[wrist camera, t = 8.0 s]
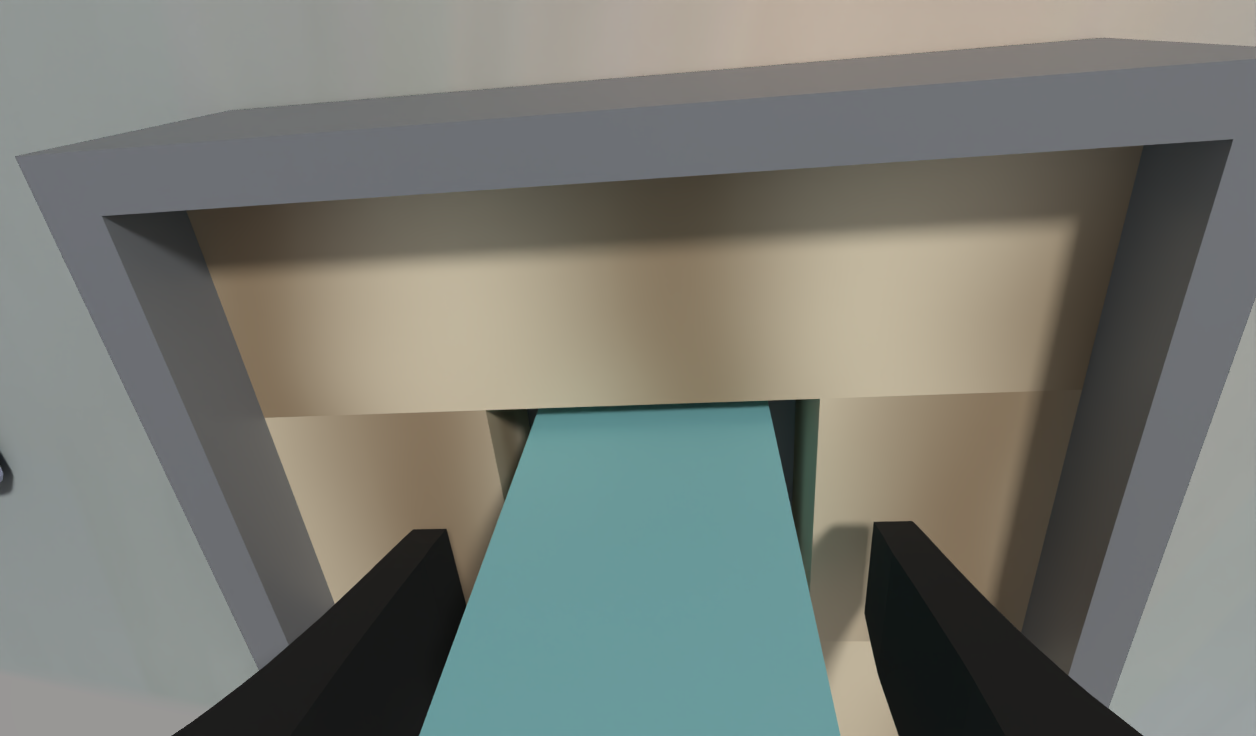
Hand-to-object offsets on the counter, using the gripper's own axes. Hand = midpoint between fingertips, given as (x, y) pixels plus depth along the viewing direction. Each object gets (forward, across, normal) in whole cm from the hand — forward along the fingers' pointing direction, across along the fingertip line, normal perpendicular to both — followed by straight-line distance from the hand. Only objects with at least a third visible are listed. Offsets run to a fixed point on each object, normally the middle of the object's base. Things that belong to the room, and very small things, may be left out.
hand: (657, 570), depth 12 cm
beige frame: (+4, 0, 0) cm, 4 cm away
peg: (+3, 0, 0) cm, 3 cm away
